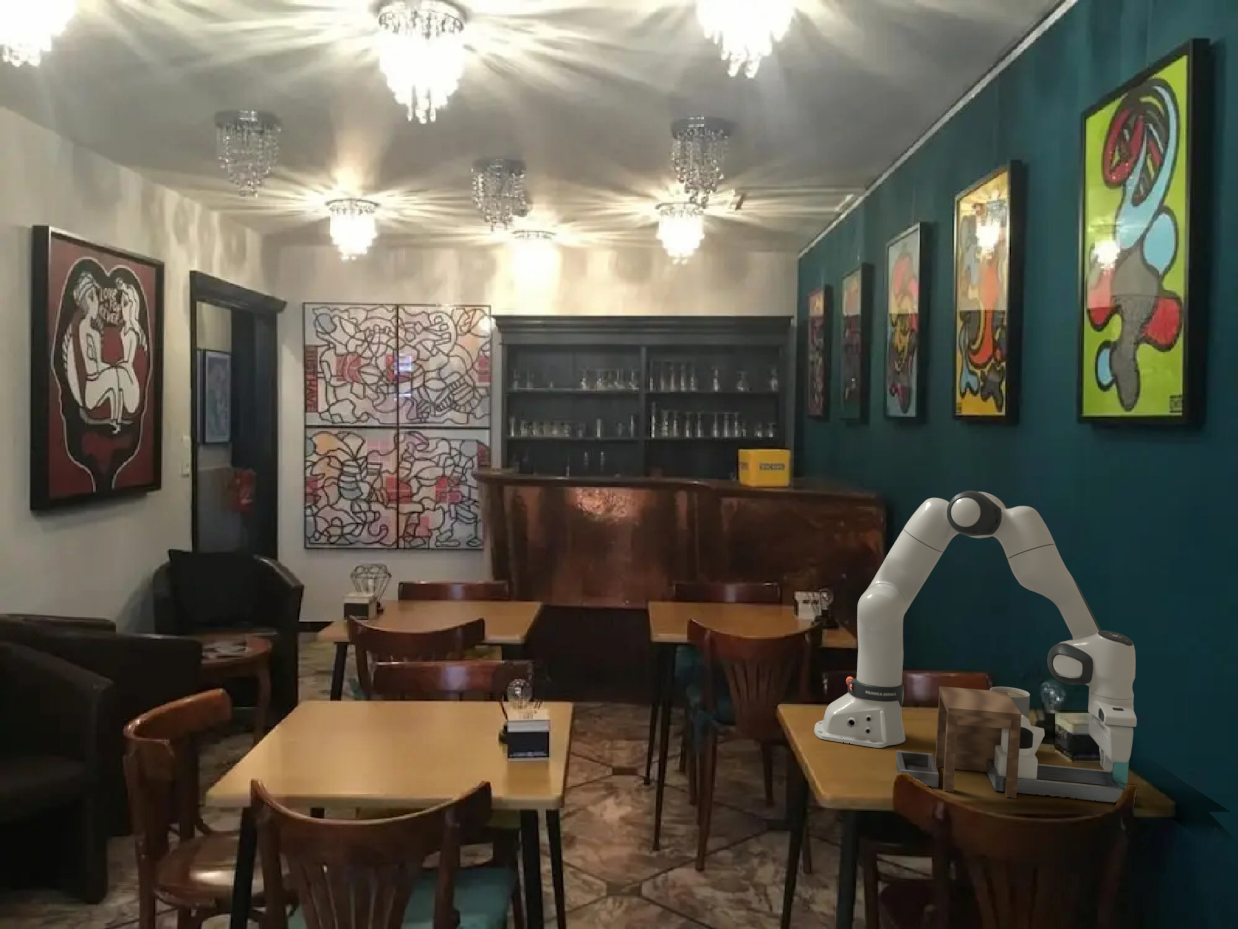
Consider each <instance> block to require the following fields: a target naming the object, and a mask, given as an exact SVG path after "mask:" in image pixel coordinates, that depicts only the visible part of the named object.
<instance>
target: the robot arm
mask: <svg viewBox="0 0 1238 929" xmlns="http://www.w3.org/2000/svg"><path fill="white" fill-rule="evenodd" d="M959 534H961V535H962V536H967V537H970V538H975V539H992V538H995V539H996V540H997V541H998V542H999V543H1000V545H1001V546H1002V549H1003V551H1004V553H1005V557H1006V558H1007V562H1008V565H1009V567H1010V570H1011V572H1012V574H1013V575H1014V577H1015V579H1016V580H1017V582H1018V583H1019V585H1020V586H1021V587H1023V588H1025V589H1027V590H1028V591H1032V592H1034V593H1037V594H1039V595H1041V596H1043V597H1045V598H1047V599H1048V600H1050V601H1051V602H1052V603H1053V604H1055V606H1056V607H1057V609H1058V610H1059V612H1060V614H1061V616H1062V618H1063V620H1064V622H1065V624H1066V626H1067V628H1068V630H1069V631H1070V634H1071V637H1072V639H1069V640H1066V641H1065V640H1064V641H1060V642H1059V643H1056V644H1054V645H1053V646H1052V647H1051V648H1050V650H1049V651H1048V653H1047V667H1048V669H1049V672H1050V674H1051V675H1052V676H1053V678H1054V679H1056V680H1057V681H1058V682H1060V683H1063V684H1068V685H1086V686H1088V703H1087V704H1088V706H1087V711H1088V713H1089V721H1088V734H1089V736H1090V738H1092V739H1093V740H1094V742H1095V743H1096V744H1097V746H1098V747H1099V750H1098V751H1099V755H1100V756H1099V758H1100V766H1101V768H1102V770H1105V771H1112V770H1113V763H1114V762H1125V763H1126V762H1128V761H1129V762H1130V758H1131V754H1132V748H1133V739H1134V728H1136V727H1137V724H1138V723H1137V720H1138V719H1137V716H1136V713H1135V710H1134V706H1135V705H1134V698H1135V694H1134V691H1133V684H1134V681H1135V679H1136V649H1135V645H1134V642H1133V641H1132V640H1131V639H1130V638H1129V637H1128V636H1126V635H1124V634H1122V633H1119V632H1115V631H1110V630H1102V629H1101V627H1100V625H1099V624H1098V623H1099V622H1097V619H1096V617H1095V616H1094V613H1093V611H1092V609H1091V607H1090V606H1089V604H1088V601H1087V599H1086V598H1085V596H1084V594H1083V592H1082V590H1081V588H1080V586H1079V585H1078V583H1077V581H1076V580H1075V578H1074V577H1073V575H1072V574H1071V573H1070V571H1069V570H1068V568H1067V567H1066V565H1065V563H1064V561H1063V559H1062V556H1061V555H1060V553H1059V550H1058V548H1057V545H1056V542H1055V540H1054V538H1053V536H1052V534H1051V532H1050V530H1049V528H1048V526H1047V524H1046V523H1045V522H1044V520H1043V518H1042V516H1041V515H1040V513H1039V512H1038V511H1037V510H1036V509H1035V508H1033V507H1031V506H1029V505H1027V506H1026V505H1017V506H1015V507H1010V508H1009V507H1008V505H1007V504H1006V502H1004V501H1003V500H1002V498H999V497H998V496H996V495H993V494H990V493H988V492H985V491H976V490H965V491H962V492H959V493H958V494H956V495H955V496H953V497H952V498H951V500H950V501H948V500H946V499H944V498H940V497H931V498H927V499H926V500H924V502H922V504H920V506H919V507H918V508H916V510H915V512H914V513H913V514H912V515H911V516H910V518H909V520H908V521H907V522H906V523H905V525H904V527H903V528H902V531H901V532H900V534H899V535H898V536H897V539H896V540H895V541H894V544H893V545H892V547H891V548H890V550H889V552H888V554H887V555H886V557H885V558H884V560H883V563H882V564H881V565H880V567H879V568H878V570H877V572H876V574H875V576H874V578H873V579H872V581H871V583H870V584H869V585H868V587H867V589H866V590H865V591H864V592H863V594H861V596H860V598H859V600H858V602H857V613H856V614H857V616H856V618H857V619H856V621H857V624H856V625H857V626H856V628H857V647H858V648H857V651H858V652H857V664H856V666H857V667H856V668H857V669H856V671H857V672H856V677H855V678H854V677H852V676H847V678H846V680H845V682H846V685H847V693H845V694H844V695H842V696H840V697H839V698H837V699H835V700H834V701H832V702H831V703H830V704H828V706H827V707H826V709H825V711H824V715H823V719H822V720H819V721H817V722H816V723H815V724H814V729H813V732H814V735H815V736H816V737H817V738H819V739H820V740H825V741H831V742H837V743H843V742H844V744H849V743H850V744H851V745H857V746H864V747H871V748H877V749H882V748H886V747H888V746H893V745H894V746H895V745H900V744H903V743H904V742H905V741H906V735H905V731H904V725H903V716H902V715H903V714H902V707H903V703H904V691H905V690H904V689H905V687H904V684H903V670H904V669H903V665H904V618H905V614H906V613H907V611H908V609H909V608H910V607H911V604H912V603H913V601H914V600H915V598H916V597H917V596H918V593H919V592H920V590H921V589H922V587H923V586H924V584H925V582H926V581H927V579H928V578H929V576H930V574H931V572H932V571H933V569H934V568H935V566H936V565H937V564H938V561H939V560H940V558H941V557H942V556H943V553H944V552H945V550H946V549H947V547H948V545H949V544H950V542H951V541H952V540H953V538H955V536H957V535H959ZM1133 727H1134V728H1133Z"/></svg>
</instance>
